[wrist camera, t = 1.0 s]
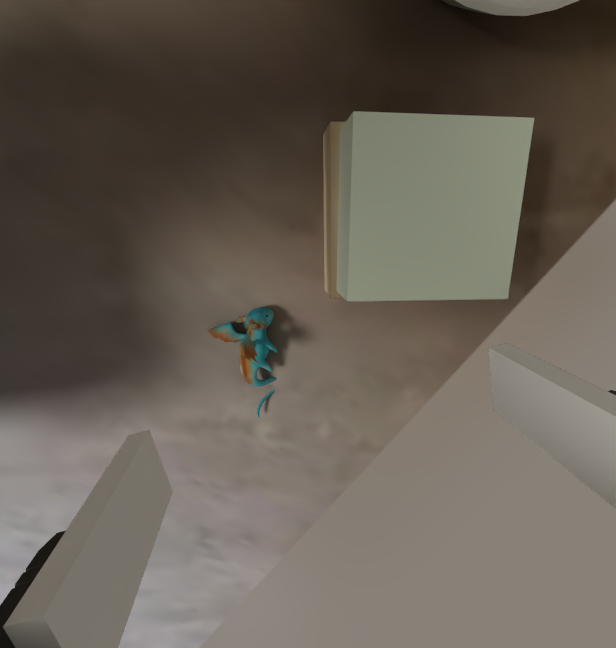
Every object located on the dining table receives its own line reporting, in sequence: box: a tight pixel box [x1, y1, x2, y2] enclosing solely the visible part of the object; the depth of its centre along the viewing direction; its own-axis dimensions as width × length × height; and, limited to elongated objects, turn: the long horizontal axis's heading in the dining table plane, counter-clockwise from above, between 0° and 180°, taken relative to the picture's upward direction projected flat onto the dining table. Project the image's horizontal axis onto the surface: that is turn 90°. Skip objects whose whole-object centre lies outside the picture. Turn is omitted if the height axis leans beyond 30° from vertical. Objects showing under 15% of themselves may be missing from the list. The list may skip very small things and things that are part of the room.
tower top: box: [337, 111, 534, 301], centre depth 25 cm, size 11×11×4 cm
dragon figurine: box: [207, 307, 278, 417], centre depth 31 cm, size 7×7×8 cm
